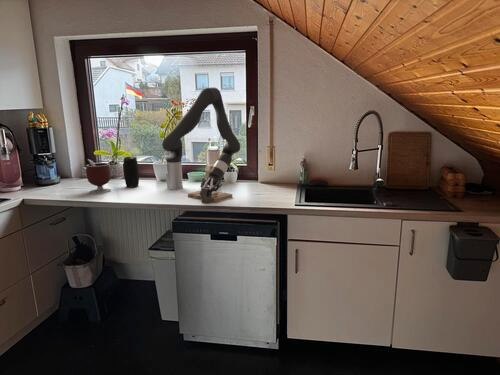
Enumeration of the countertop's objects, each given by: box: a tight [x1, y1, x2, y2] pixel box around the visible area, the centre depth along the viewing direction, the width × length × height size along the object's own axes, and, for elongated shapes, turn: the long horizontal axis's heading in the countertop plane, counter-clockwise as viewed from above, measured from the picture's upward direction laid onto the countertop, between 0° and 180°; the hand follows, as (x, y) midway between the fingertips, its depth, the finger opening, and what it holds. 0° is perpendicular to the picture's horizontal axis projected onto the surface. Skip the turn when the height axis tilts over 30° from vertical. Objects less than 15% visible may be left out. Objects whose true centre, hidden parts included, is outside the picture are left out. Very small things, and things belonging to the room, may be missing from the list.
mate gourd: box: [85, 158, 112, 195], centre depth 222 cm, size 16×14×20 cm
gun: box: [204, 163, 215, 188], centre depth 235 cm, size 24×3×15 cm, turn 168°
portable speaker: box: [122, 156, 140, 189], centre depth 235 cm, size 9×9×20 cm
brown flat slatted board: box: [187, 189, 233, 203], centre depth 206 cm, size 22×14×2 cm, turn 51°
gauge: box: [200, 187, 218, 204], centre depth 196 cm, size 4×10×8 cm, turn 141°
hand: (203, 195), depth 192 cm, fingers closed on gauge, 4 cm apart
